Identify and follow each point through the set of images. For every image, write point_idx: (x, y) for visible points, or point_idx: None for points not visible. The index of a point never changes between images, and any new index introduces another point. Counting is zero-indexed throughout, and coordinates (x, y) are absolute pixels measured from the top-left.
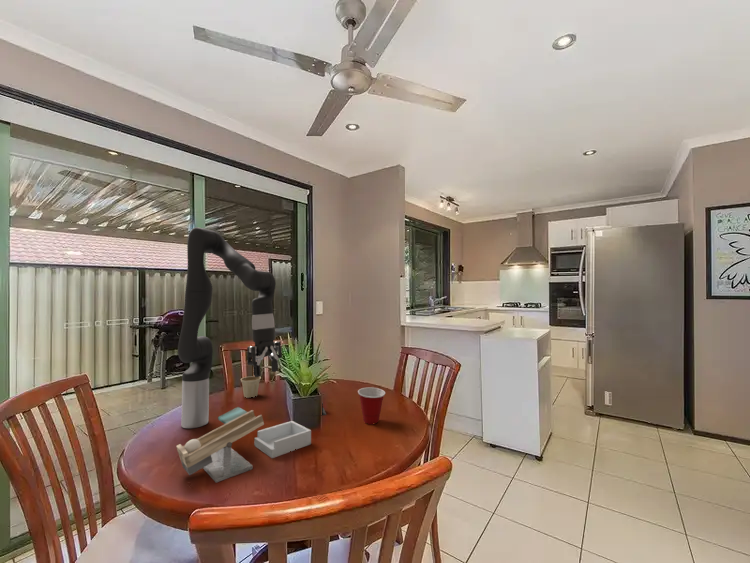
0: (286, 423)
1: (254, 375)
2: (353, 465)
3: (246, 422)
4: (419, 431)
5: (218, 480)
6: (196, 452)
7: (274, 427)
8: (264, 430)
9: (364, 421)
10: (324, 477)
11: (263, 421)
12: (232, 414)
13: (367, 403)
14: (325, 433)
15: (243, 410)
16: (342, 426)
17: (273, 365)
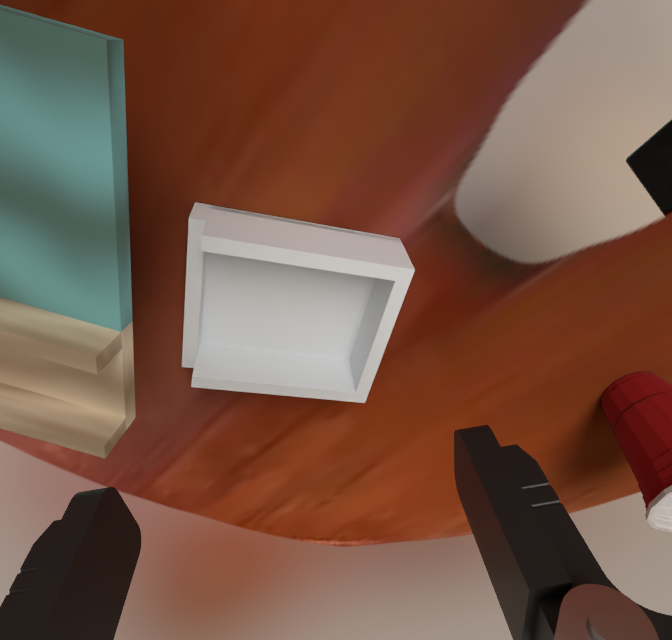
0: (369, 274)
1: (72, 505)
2: (318, 502)
3: (17, 423)
4: (579, 504)
5: None
6: None
7: (295, 265)
8: (234, 255)
9: (615, 386)
10: (228, 494)
11: (126, 429)
12: (20, 129)
13: (639, 475)
14: (465, 342)
15: (108, 185)
16: (554, 346)
17: (490, 533)
